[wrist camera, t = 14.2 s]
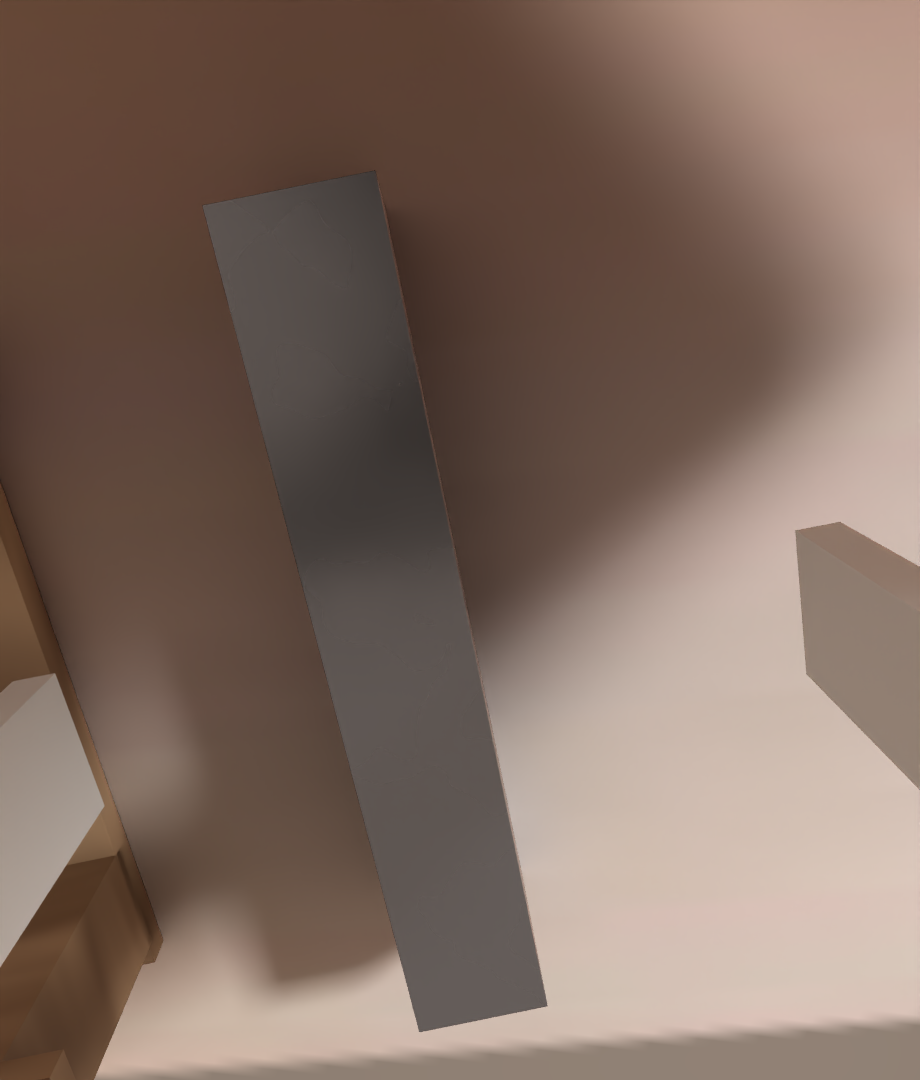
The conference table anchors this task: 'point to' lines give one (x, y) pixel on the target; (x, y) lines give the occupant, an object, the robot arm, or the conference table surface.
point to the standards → (67, 885)
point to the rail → (382, 582)
